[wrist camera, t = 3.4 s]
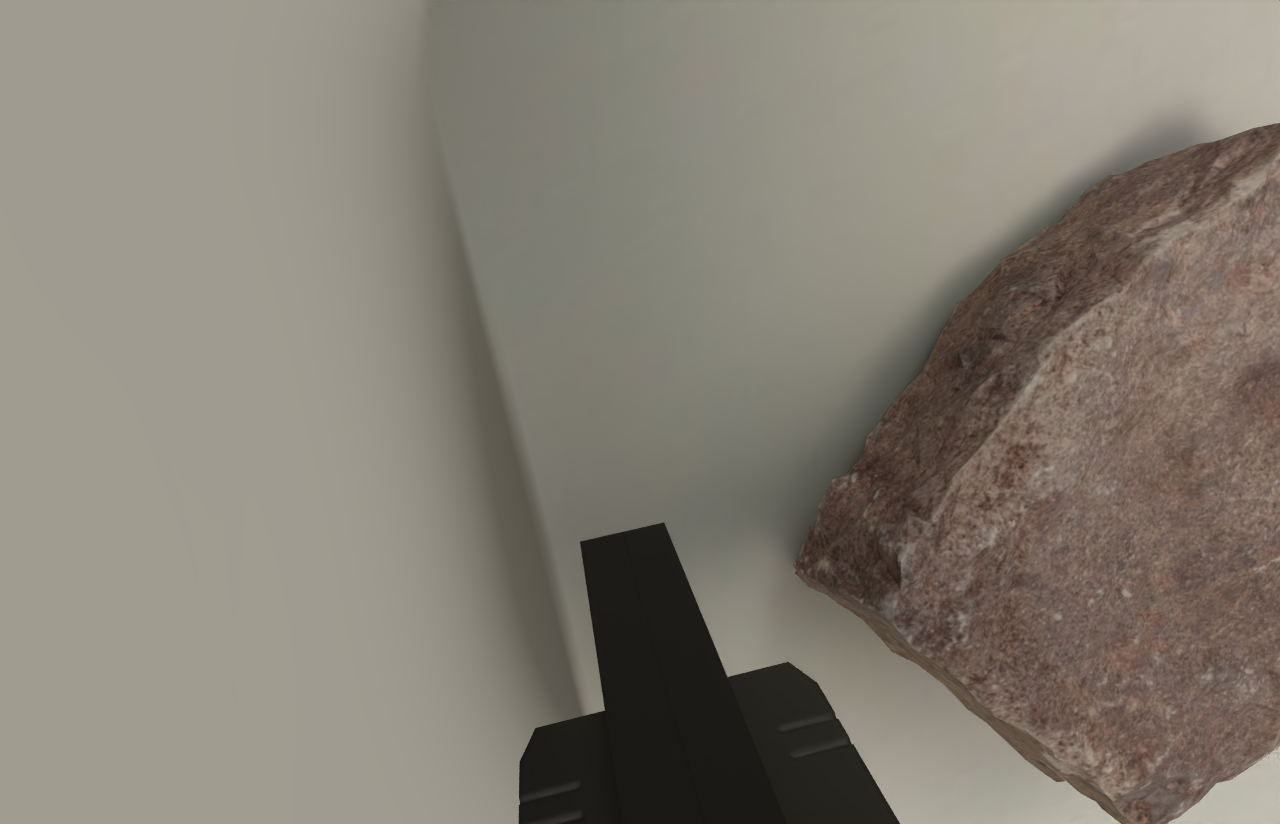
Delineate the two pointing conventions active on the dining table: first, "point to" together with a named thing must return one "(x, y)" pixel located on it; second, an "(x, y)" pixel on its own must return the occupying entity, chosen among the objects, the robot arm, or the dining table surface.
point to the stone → (1095, 489)
